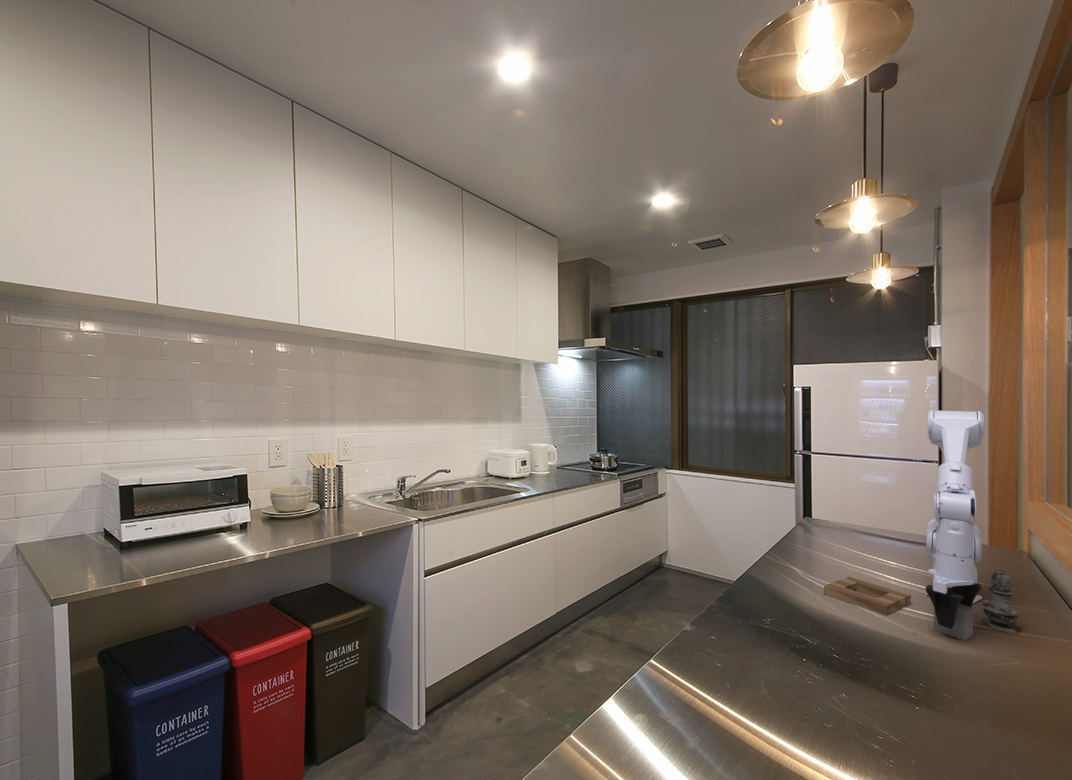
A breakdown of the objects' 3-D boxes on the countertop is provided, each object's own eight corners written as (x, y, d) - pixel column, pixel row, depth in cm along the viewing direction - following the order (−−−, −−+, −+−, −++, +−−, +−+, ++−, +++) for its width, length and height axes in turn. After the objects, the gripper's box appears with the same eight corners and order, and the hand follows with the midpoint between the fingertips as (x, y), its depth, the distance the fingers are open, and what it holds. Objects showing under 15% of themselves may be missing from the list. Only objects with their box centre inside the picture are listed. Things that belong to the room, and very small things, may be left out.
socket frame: (849, 584, 124) (849, 576, 124) (910, 603, 113) (910, 594, 113) (823, 594, 117) (823, 585, 117) (886, 615, 106) (886, 606, 106)
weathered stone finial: (1028, 635, 99) (1028, 574, 99) (993, 631, 100) (994, 571, 100) (1006, 621, 104) (1007, 564, 105) (974, 618, 106) (974, 561, 106)
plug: (941, 625, 102) (942, 598, 102) (972, 635, 98) (973, 607, 98) (933, 630, 100) (934, 602, 100) (965, 640, 96) (965, 612, 96)
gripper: (943, 542, 106) (943, 606, 106) (914, 553, 99) (913, 622, 98) (987, 552, 100) (986, 619, 100) (959, 563, 93) (958, 637, 92)
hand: (953, 622), depth 99 cm, fingers open, 7 cm apart
